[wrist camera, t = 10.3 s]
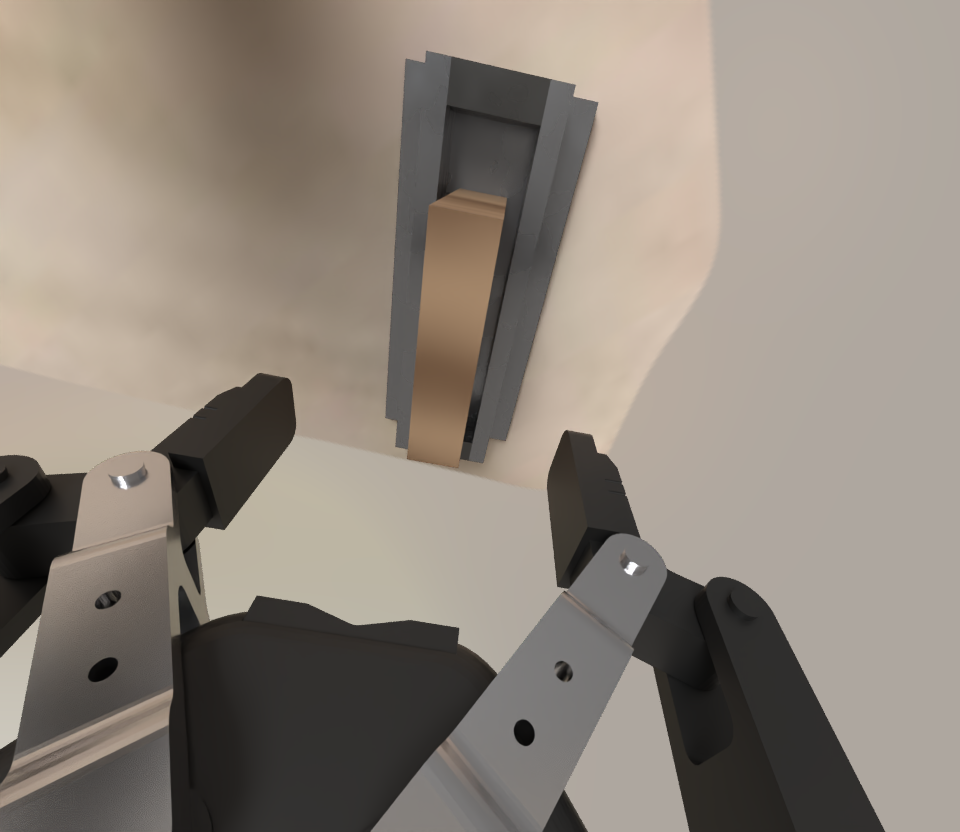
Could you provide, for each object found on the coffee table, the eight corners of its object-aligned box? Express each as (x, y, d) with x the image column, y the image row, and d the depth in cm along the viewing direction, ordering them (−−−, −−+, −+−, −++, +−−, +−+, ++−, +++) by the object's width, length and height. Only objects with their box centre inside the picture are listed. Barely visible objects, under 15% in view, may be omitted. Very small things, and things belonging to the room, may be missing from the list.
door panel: (459, 188, 20) (428, 204, 13) (507, 197, 20) (503, 220, 13) (437, 373, 26) (407, 459, 19) (473, 380, 26) (458, 468, 19)
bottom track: (410, 63, 19) (388, 42, 15) (594, 105, 19) (612, 93, 16) (389, 410, 30) (373, 442, 26) (505, 432, 30) (504, 467, 27)
